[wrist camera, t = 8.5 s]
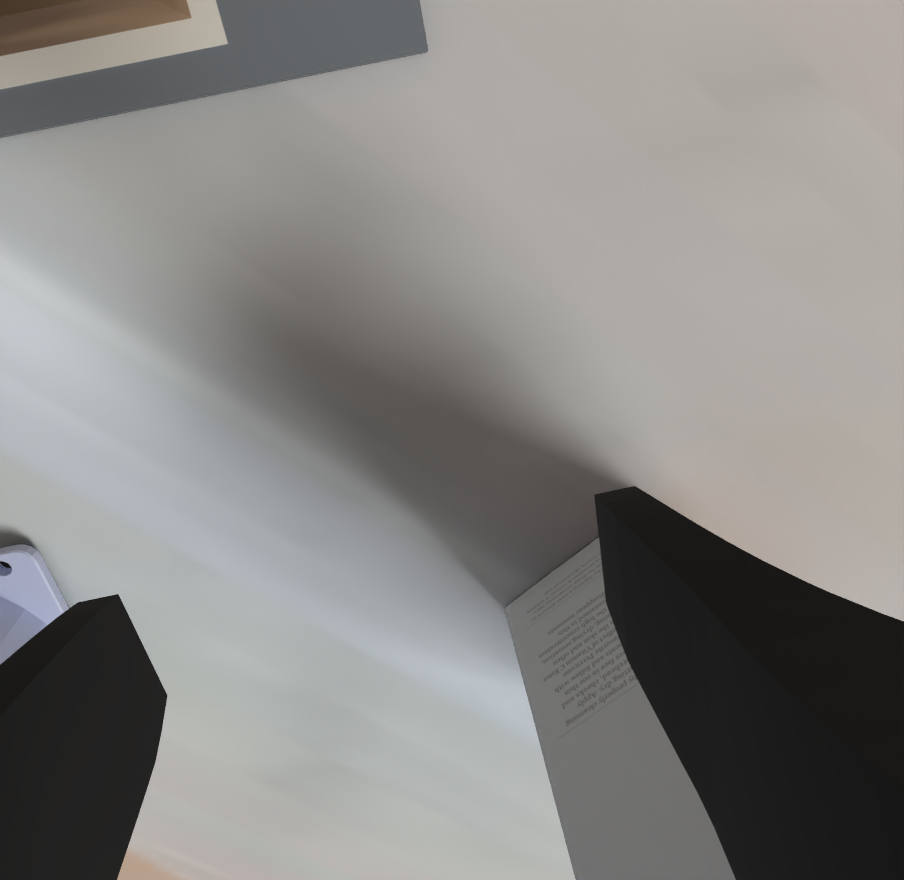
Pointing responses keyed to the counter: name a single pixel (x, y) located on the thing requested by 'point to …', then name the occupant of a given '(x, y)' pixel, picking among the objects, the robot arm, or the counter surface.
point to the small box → (606, 739)
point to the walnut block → (78, 20)
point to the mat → (202, 57)
